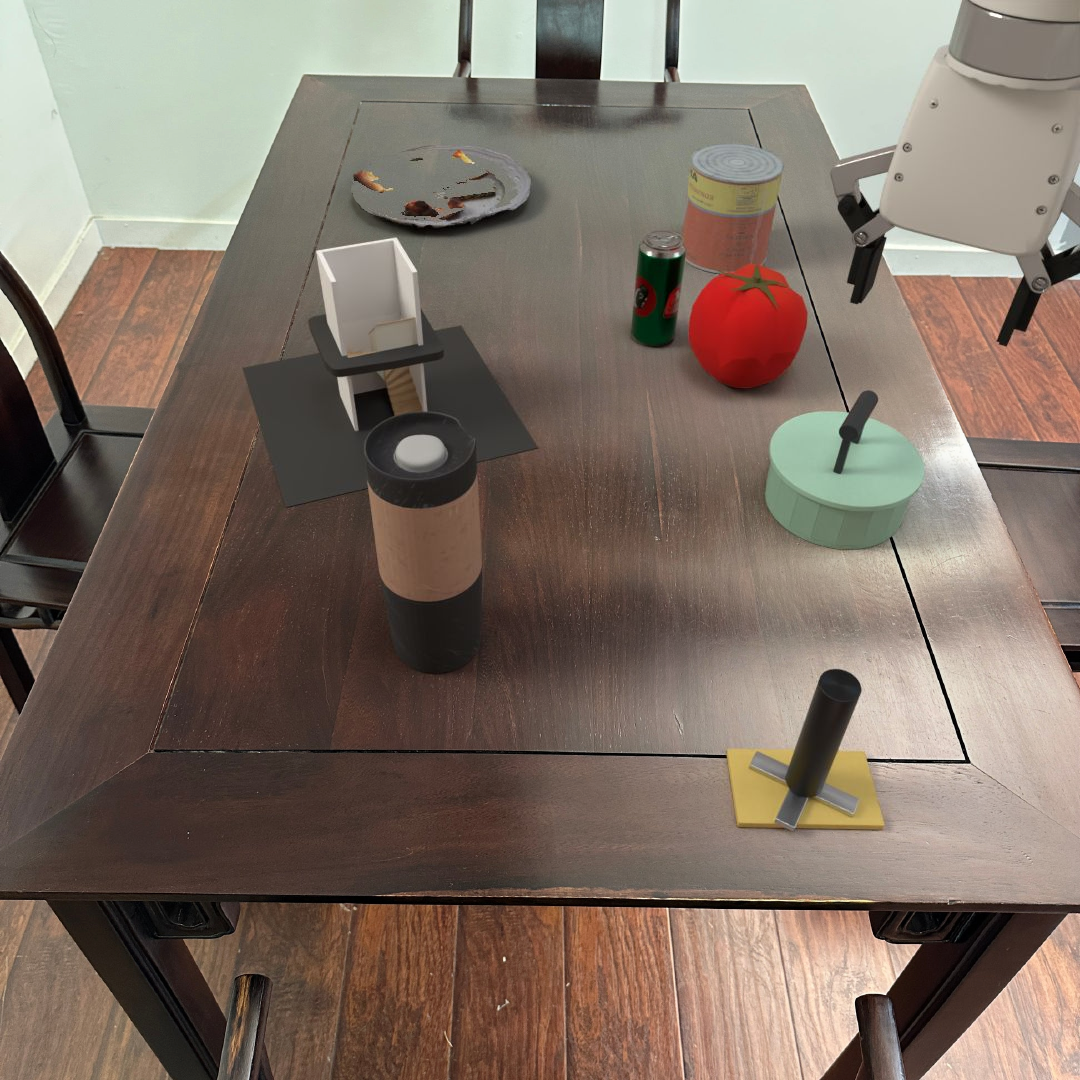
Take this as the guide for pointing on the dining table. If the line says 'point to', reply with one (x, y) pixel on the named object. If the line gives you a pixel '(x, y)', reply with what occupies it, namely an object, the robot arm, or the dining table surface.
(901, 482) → the lid
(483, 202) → the food plate
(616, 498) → the dining table surface
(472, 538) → the travel mug
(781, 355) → the tomato
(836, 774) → the mat
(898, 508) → the bowl
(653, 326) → the soda can
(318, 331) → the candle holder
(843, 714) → the black and grey rod
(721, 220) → the canned food
